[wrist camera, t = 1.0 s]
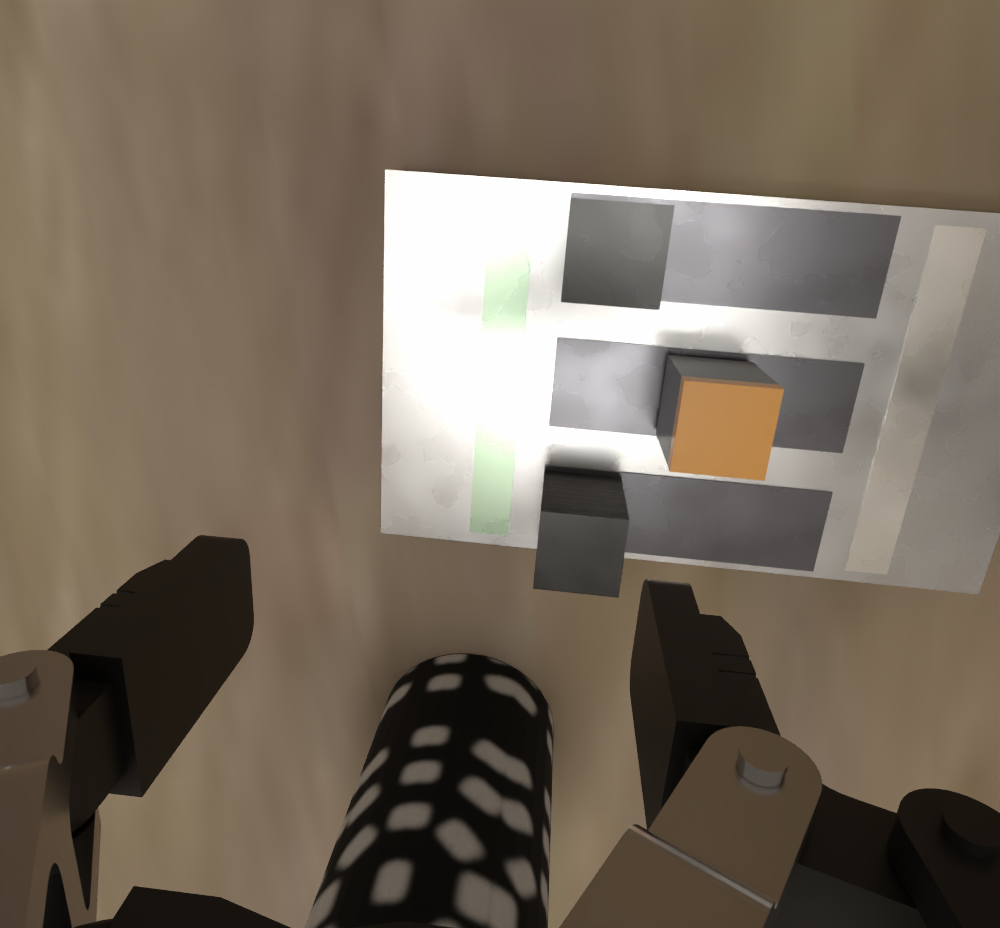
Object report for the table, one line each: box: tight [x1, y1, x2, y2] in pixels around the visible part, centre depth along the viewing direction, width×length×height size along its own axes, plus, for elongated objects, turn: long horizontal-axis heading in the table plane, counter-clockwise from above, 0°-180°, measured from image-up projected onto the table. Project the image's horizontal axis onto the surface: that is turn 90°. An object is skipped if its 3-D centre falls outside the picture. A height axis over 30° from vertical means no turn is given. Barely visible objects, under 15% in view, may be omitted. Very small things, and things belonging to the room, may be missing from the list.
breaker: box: [656, 355, 784, 481], centre depth 24 cm, size 3×3×4 cm
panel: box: [381, 170, 1000, 597], centre depth 26 cm, size 24×14×6 cm, turn 86°
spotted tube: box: [305, 654, 553, 928], centre depth 26 cm, size 8×8×20 cm
